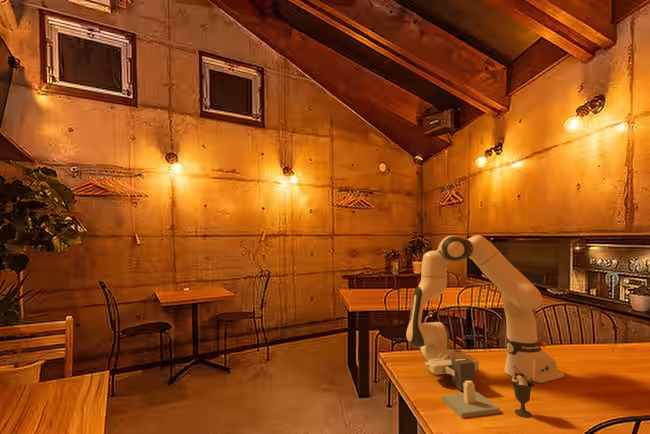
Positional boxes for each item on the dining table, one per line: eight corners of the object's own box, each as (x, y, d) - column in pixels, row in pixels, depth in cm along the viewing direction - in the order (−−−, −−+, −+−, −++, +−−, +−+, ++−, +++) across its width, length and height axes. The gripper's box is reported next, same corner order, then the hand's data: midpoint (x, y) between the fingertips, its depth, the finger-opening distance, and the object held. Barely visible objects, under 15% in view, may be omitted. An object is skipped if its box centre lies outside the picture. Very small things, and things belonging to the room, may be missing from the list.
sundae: (507, 409, 113) (505, 363, 114) (525, 407, 113) (523, 362, 114) (520, 419, 106) (517, 371, 107) (539, 418, 107) (537, 370, 108)
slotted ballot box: (466, 382, 132) (464, 355, 133) (475, 389, 127) (474, 361, 127) (452, 384, 131) (451, 357, 132) (461, 390, 125) (460, 362, 126)
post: (477, 395, 122) (476, 372, 123) (499, 412, 110) (498, 387, 111) (442, 400, 120) (441, 376, 120) (461, 417, 108) (460, 391, 108)
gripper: (422, 354, 140) (439, 367, 127) (466, 350, 144) (487, 362, 130) (422, 369, 140) (439, 384, 126) (466, 365, 144) (488, 378, 130)
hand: (464, 372), depth 128 cm, fingers closed on slotted ballot box, 6 cm apart
